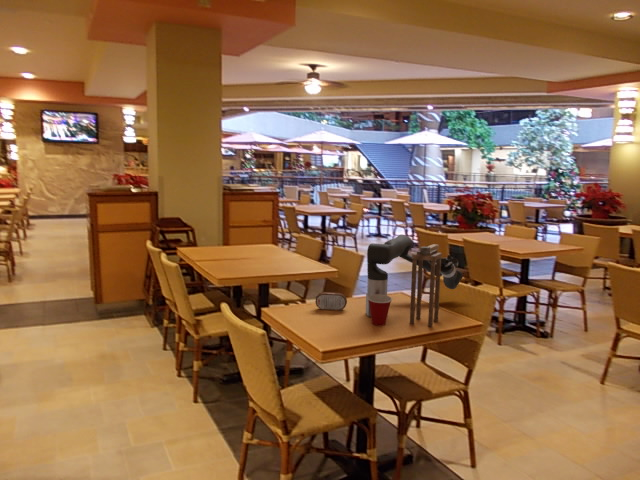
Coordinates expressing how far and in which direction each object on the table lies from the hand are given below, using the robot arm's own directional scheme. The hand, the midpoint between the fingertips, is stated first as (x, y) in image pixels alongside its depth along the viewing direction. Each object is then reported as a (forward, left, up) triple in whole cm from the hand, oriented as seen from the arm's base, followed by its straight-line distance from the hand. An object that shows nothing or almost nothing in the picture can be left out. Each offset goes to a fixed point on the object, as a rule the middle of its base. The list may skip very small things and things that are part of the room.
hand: (439, 255), depth 247 cm
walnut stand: (-11, -16, -27) cm, 34 cm away
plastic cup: (-32, -17, -28) cm, 45 cm away
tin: (-50, +7, -28) cm, 57 cm away
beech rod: (-9, -12, +4) cm, 16 cm away
